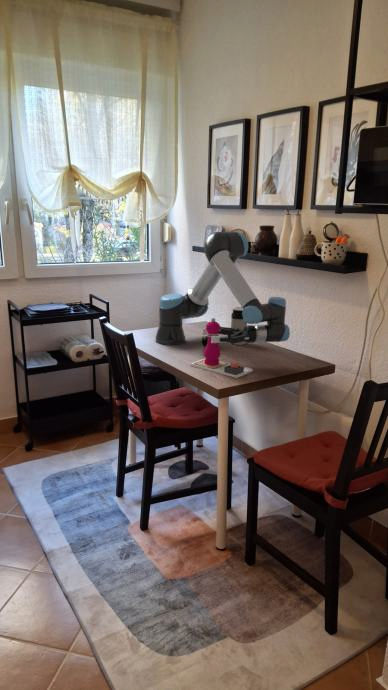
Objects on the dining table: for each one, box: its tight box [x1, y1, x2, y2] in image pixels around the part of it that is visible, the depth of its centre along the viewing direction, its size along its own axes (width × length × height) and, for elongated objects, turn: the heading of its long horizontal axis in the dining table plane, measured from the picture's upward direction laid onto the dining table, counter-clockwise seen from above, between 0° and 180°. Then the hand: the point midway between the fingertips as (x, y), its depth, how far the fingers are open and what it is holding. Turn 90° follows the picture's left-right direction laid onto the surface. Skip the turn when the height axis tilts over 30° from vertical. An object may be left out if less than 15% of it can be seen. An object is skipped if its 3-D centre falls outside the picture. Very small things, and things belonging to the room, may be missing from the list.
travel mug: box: [230, 306, 248, 346], centre depth 253 cm, size 8×8×18 cm
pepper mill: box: [203, 317, 221, 365], centre depth 214 cm, size 7×7×20 cm
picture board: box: [189, 357, 254, 379], centre depth 214 cm, size 12×24×3 cm, turn 51°
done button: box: [229, 361, 240, 369], centre depth 206 cm, size 4×4×2 cm
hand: (206, 335), depth 213 cm, fingers open, 13 cm apart
